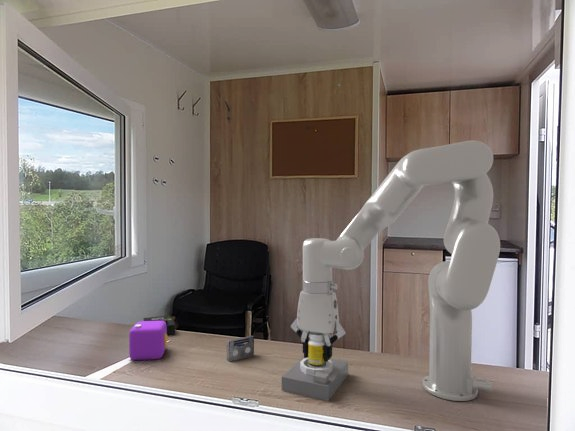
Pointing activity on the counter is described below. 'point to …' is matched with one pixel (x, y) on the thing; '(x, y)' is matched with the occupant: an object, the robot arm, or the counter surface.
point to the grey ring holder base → (315, 379)
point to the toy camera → (148, 340)
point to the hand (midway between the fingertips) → (317, 357)
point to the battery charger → (168, 321)
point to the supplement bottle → (316, 350)
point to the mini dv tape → (240, 348)
